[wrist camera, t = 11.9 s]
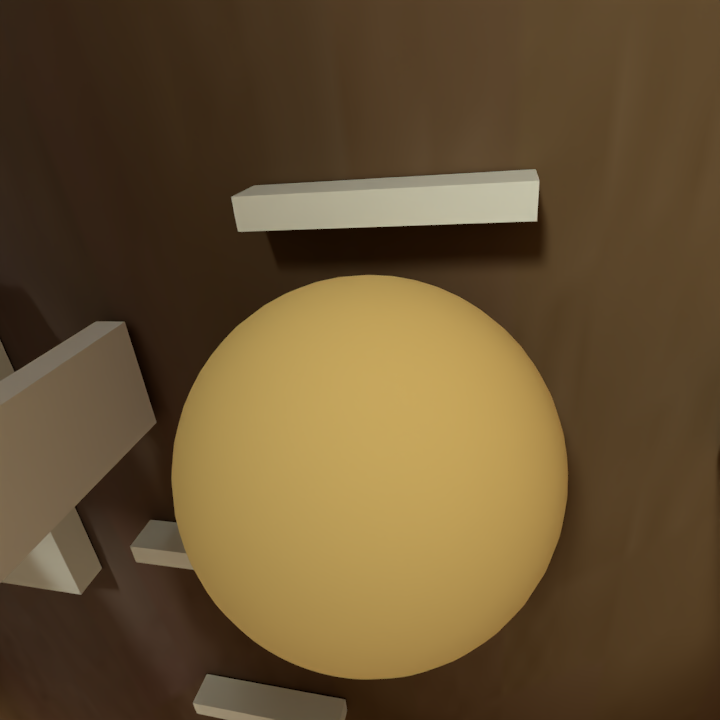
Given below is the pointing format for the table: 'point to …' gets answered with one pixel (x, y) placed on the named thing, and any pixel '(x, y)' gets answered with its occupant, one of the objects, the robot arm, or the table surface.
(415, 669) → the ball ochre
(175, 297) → the table surface
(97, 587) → the table surface
